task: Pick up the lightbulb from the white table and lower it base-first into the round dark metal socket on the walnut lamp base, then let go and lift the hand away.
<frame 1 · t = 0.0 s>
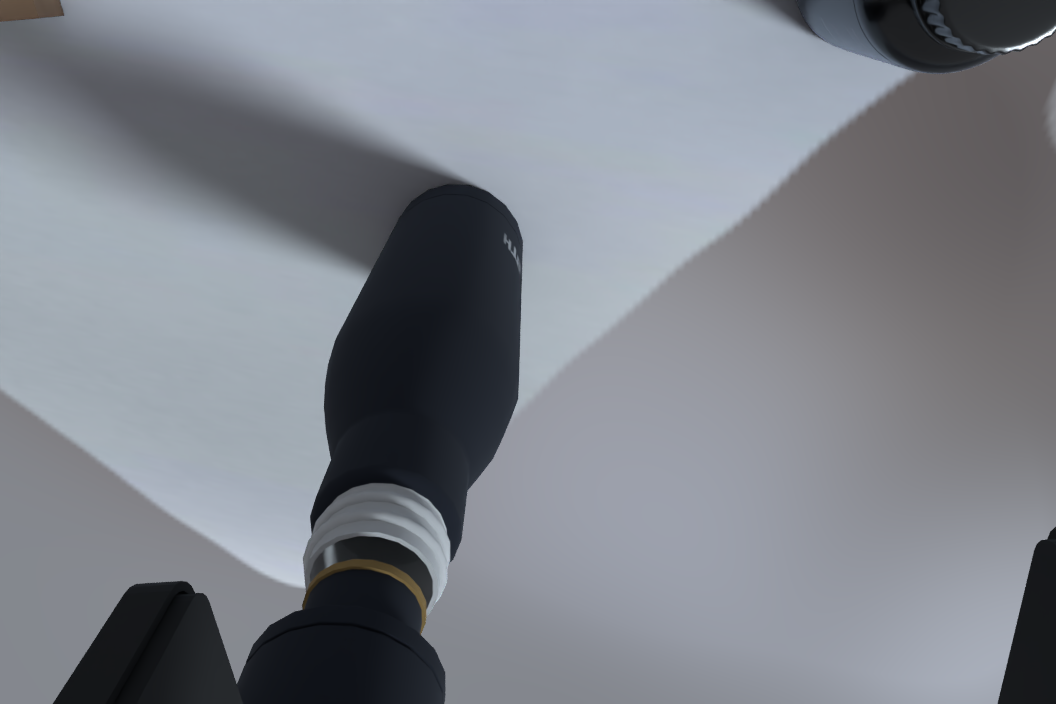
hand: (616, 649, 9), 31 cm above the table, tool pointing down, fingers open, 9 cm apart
black water bottle: (458, 246, 40), on the table
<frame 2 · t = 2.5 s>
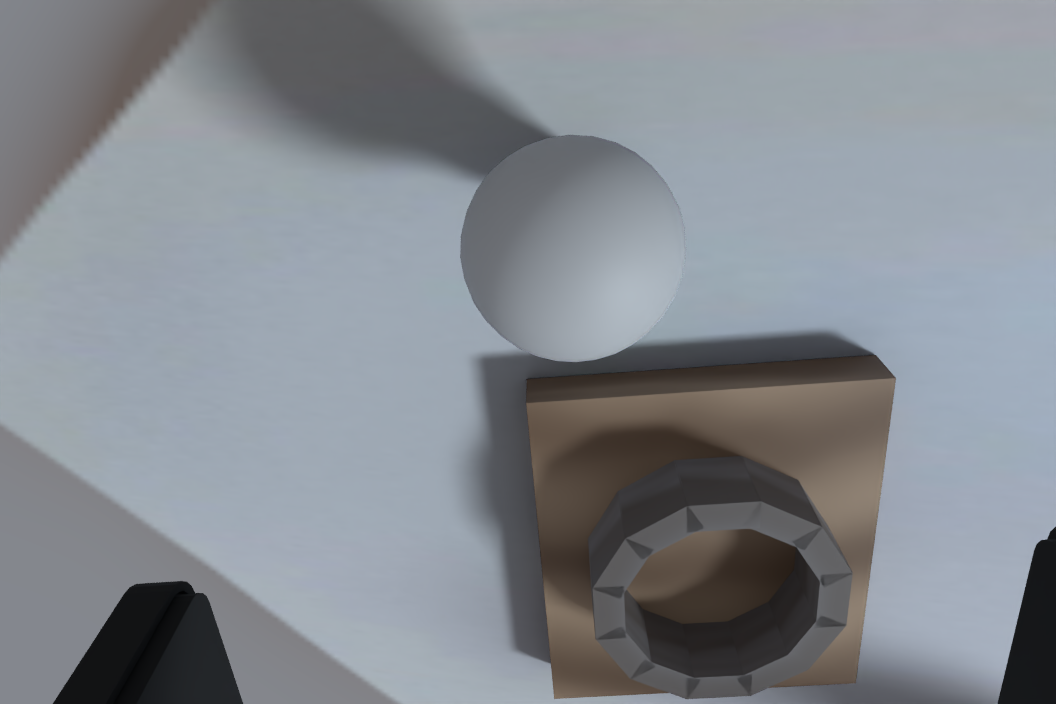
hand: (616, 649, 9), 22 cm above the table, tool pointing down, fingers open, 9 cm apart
lightbulb: (563, 179, 29), on the table
socket base: (697, 526, 36), on the table
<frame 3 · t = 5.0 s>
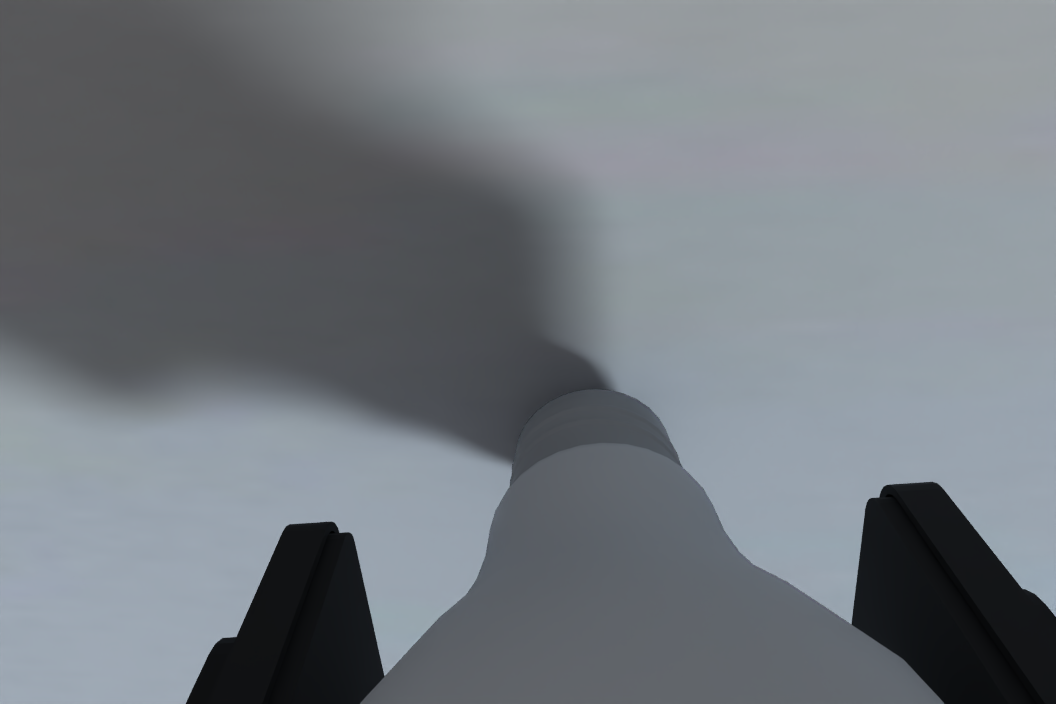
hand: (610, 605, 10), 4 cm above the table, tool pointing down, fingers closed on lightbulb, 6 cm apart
lightbulb: (589, 425, 14), on the table, touching gripper
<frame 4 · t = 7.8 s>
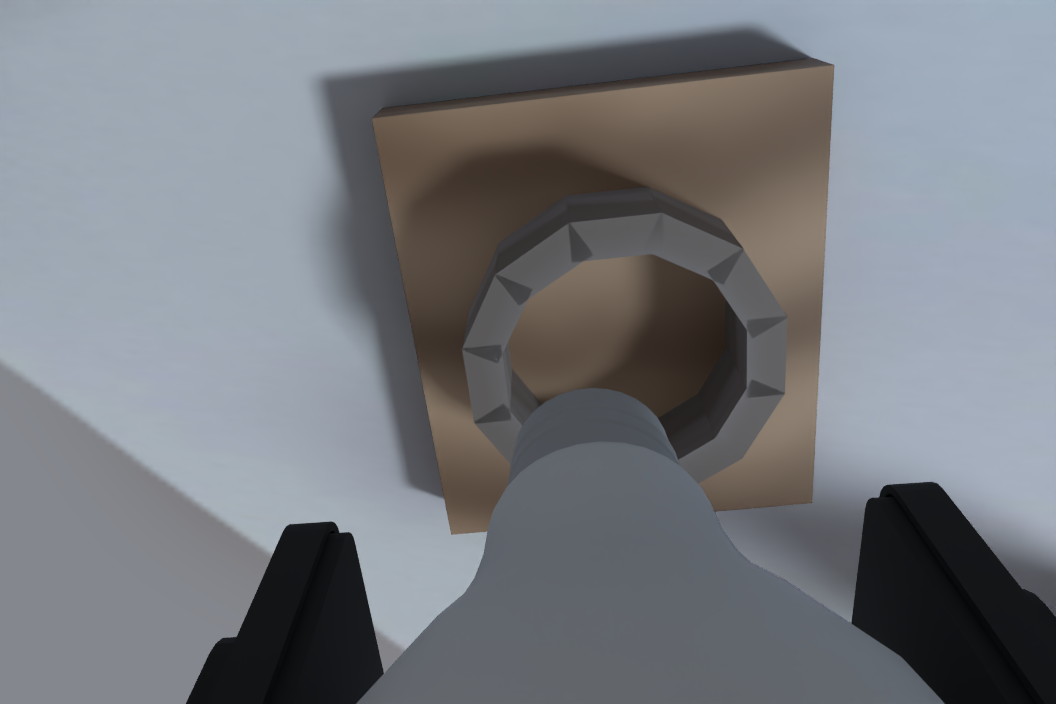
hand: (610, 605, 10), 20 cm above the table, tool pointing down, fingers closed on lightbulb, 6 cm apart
lightbulb: (587, 424, 14), point 15 cm above the table, touching gripper
socket base: (611, 309, 29), on the table
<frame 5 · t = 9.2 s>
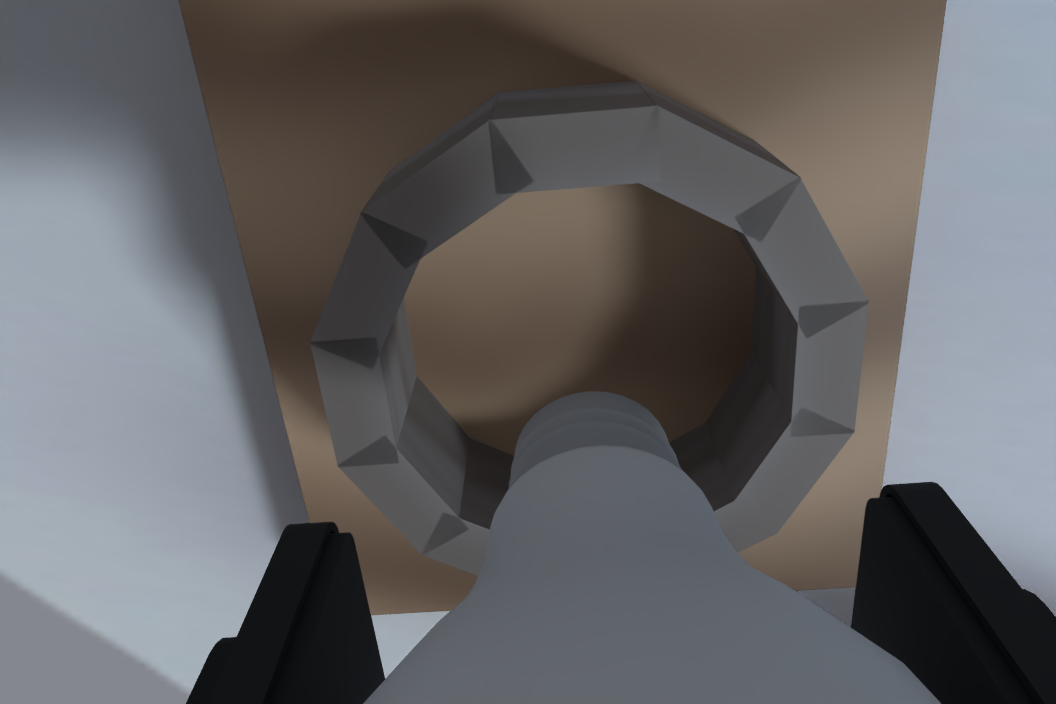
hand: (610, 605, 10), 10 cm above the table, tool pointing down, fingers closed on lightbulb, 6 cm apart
lightbulb: (587, 427, 14), point 6 cm above the table, touching gripper
socket base: (576, 289, 19), on the table
when the fingers open (7 cm above the table, at t = 10.4 s): lightbulb stays where it is, resting on socket base.
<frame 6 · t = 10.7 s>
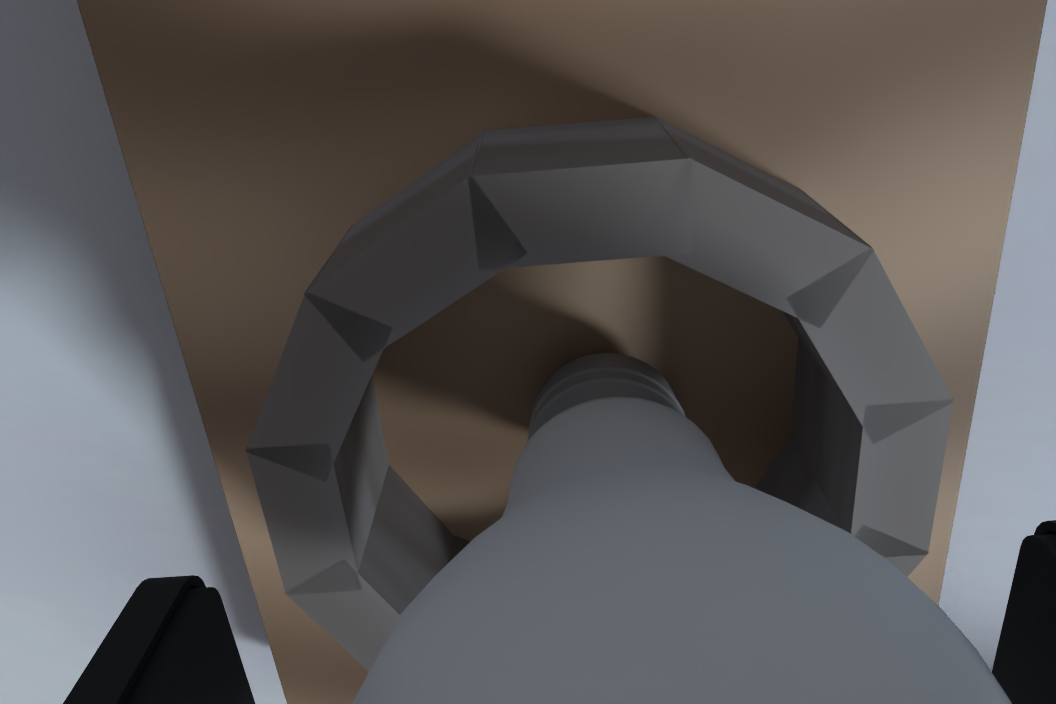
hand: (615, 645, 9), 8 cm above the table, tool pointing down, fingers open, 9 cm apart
lightbulb: (599, 390, 15), point 2 cm above the table, touching socket base
socket base: (579, 355, 16), on the table
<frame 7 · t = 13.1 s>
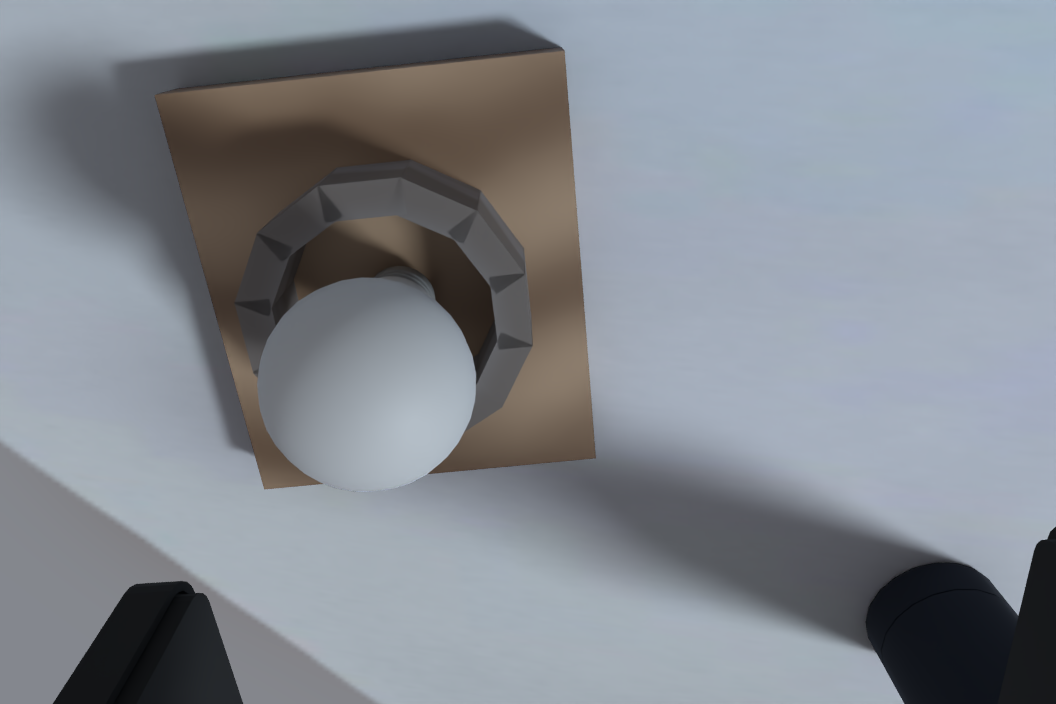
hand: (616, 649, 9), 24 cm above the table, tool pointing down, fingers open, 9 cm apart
lightbulb: (404, 289, 30), point 2 cm above the table, touching socket base
socket base: (404, 277, 32), on the table
black water bottle: (928, 610, 40), on the table
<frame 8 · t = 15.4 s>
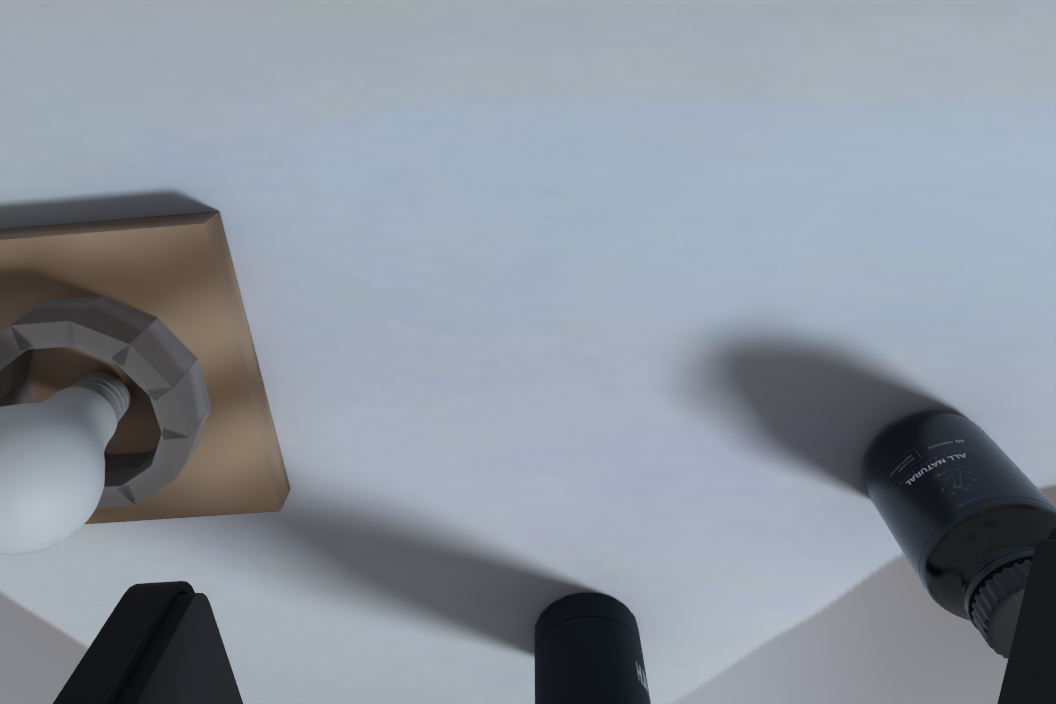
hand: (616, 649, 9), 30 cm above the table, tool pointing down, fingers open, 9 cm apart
lightbulb: (114, 385, 40), point 2 cm above the table, touching socket base
supplement bottle: (919, 459, 44), on the table
socket base: (125, 371, 42), on the table
black water bottle: (586, 629, 50), on the table
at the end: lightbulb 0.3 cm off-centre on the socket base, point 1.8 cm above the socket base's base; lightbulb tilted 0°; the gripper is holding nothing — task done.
